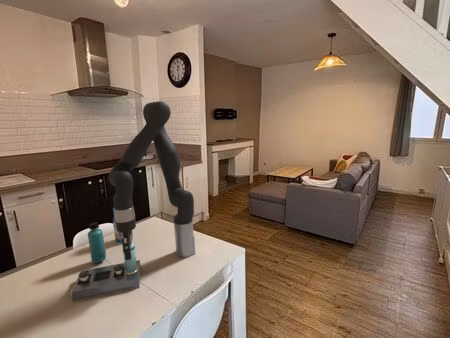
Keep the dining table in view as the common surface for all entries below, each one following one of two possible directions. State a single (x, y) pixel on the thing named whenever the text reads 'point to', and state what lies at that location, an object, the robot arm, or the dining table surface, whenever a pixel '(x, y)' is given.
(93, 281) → the housing
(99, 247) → the beverage bottle
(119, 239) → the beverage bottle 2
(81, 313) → the dining table surface
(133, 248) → the cylinder
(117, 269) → the plunger
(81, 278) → the plunger
